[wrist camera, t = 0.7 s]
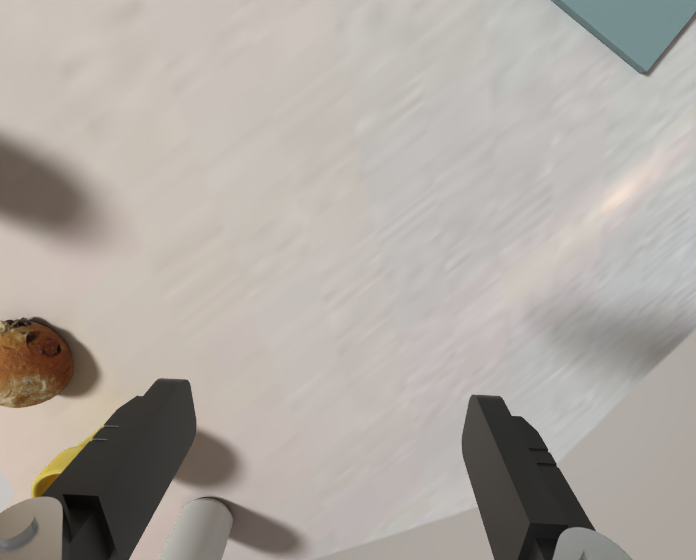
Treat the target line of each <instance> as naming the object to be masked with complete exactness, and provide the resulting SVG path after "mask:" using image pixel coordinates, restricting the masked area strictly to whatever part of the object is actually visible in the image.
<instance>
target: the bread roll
mask: <svg viewBox="0 0 696 560" xmlns="http://www.w3.org/2000/svg"><path fill="white" fill-rule="evenodd" d="M72 364H73V361H72V353H71V351H70V349H69V347H68V346H67V344H66V343H65V341H64V340H63V338H62V337H61V336H60V335H59V334H57V333H56V332H55V331H54V330H52V329H51V328H49V327H46V326H44V325H41V324H38V323H36V322H34V321H28V320H27V318H22V319H20V320H15V321H13V320H7V321H0V405H1V406H6V407H12V408H21V407H28V406H32V405H37V404H40V403H43V402H45V401H47V400H49V399H51V398H53V397H54V396H56V395H57V394H58V393H60V392H61V390H63V388H64V387H65V386H66V385H67V384H68V382H69V381H70V379H71V377H72V374H73V366H72Z"/></svg>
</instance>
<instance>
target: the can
mask: <svg viewBox="0 0 696 560" xmlns="http://www.w3.org/2000/svg"><path fill="white" fill-rule="evenodd" d="M232 525H233V518H232V515H231V513H230V512H229V510H228V508H227V507H226V506H225V505H224V504H223V503H221V502H220V501H218V500H215V499H211V498H200V499H197V500H194V501H192V502H189V503H187V504H186V505H185V506H183V508H182V510H181V512H180V514H179V516H178V518H177V521H176V523H175V525H174V527H173V529H172V531H171V533H170V535H169V538H168V540H167V542H166V544H165V546H164V548H163V550H162V552H161V555H160V557H159V559H158V560H221V559H222V556H223V553H224V550H225V547H226V544H227V541H228V537H229V534H230V531H231V528H232Z"/></svg>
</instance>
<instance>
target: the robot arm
mask: <svg viewBox="0 0 696 560" xmlns="http://www.w3.org/2000/svg"><path fill="white" fill-rule="evenodd" d="M195 432H196V416H195V410H194V404H193V398H192V392H191V386H190V383H189V381H188V380H183V379H163V378H161V379H158V380H156V381H155V383H154V384H153V385H152V386H151V387H150V389H149V390H148V391H147V392H146V393H145V395H144V396H136V397H135V398H133V399H132V400H130V401H129V402H127V403H126V404H124V405H123V406H121V407H120V408H118V409H117V410H116V412H115V413H114V414H113V415H112V416H111V417H110V418H109V419H108V421H107V422H106V423H105V424H104V427H103V428H101V429H100V430H99V431H98V432H97V433H96V434H95V435H94V436H93V438H92V441H89V442H88V443H87V444H86V446H85V447H84V448H83V449H82V450H81V451H80V452H79V453H78V455H77V456H76V457H75V458H74V459H73V460H72V461H71V463H70V464H69V465H68V466H67V467H66V468H65V469H64V470H63V472H62V473H61V474H60V475H59V476H58V477H57V478H56V480H55V481H54V482H53V483H52V484H51V485H50V486H49V487H48V489H47V490H46V491H45V492H44V493H43V494H42V495H41V496H40V497H35V498H31V499H28V500H25V501H22V502H20V503H17V504H15V505H13V506H11V507H10V508H8V509H6V510H4V511H3V512H1V513H0V560H129V558H130V556H131V554H132V553H133V551H134V549H135V547H136V545H137V543H138V542H139V540H140V538H141V536H142V534H143V532H144V531H145V529H146V527H147V525H148V523H149V522H150V520H151V518H152V516H153V514H154V512H155V511H156V509H157V507H158V505H159V503H160V501H161V500H162V498H163V496H164V494H165V492H166V490H167V489H168V487H169V485H170V483H171V481H172V479H173V478H174V476H175V474H176V472H177V470H178V468H179V467H180V465H181V463H182V461H183V459H184V457H185V456H186V454H187V452H188V450H189V448H190V447H191V445H192V442H193V440H194V437H195ZM462 453H463V458H464V462H465V465H466V468H467V472H468V475H469V478H470V481H471V485H472V488H473V491H474V494H475V498H476V501H477V504H478V507H479V510H480V514H481V517H482V520H483V524H484V527H485V530H486V533H487V537H488V540H489V543H490V546H491V550H492V553H493V556H494V559H495V560H632V558H631V557H630V556H629V555H628V554H627V553H626V552H625V551H624V550H623V549H622V548H621V547H620V546H619V545H617V544H616V543H615V542H613V541H612V540H610V539H609V538H607V537H606V536H604V535H602V534H600V533H598V532H596V530H595V529H594V527H593V526H592V524H591V522H590V521H589V519H588V517H587V516H586V514H585V512H584V510H583V509H582V507H581V505H580V503H579V502H578V500H577V498H576V496H575V495H574V493H573V491H572V490H571V488H570V486H569V484H568V483H567V481H566V479H565V478H564V476H563V474H562V472H561V471H560V469H559V468H557V466H556V462H555V460H554V459H553V457H552V455H551V454H550V453H548V448H547V447H546V445H545V443H544V442H543V440H542V438H541V436H540V435H539V433H538V431H536V430H535V429H534V428H533V427H532V426H531V425H530V424H529V423H528V422H527V421H526V420H525V419H524V418H522V417H520V416H511V414H510V412H509V410H508V408H507V406H506V404H505V402H504V400H503V399H502V398H501V397H500V396H489V395H472V396H471V397H470V400H469V404H468V409H467V414H466V419H465V424H464V429H463V434H462Z"/></svg>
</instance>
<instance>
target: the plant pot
mask: <svg viewBox="0 0 696 560" xmlns="http://www.w3.org/2000/svg"><path fill="white" fill-rule="evenodd" d="M103 427H104V425H103V426H102V427H101V428H103ZM101 428H99V429H98V430H97V431H95V432H94V433H93V434H92V435H90V436H89V437H88V438H86V439H85V440H84V441H83V442H81V443H80V444H79V445H77V446H75V447H72V448H69V449H67V450H65V451H63V452H61V453H60V454H59V455H58V456H57V457H56V458H55V459H54V460H53V461H52V462H51V463H50V464H49V465H48V466H47V467H46V468H45V469H44V470H43V471H42V472H41V473H40V474H39V475H38V477H37V478H36V479H35V480H34V482H33V484H32V487H31V497H32V498H35V497H40V496H41V495H42V494H43V493H44V492H45V491H46V490H47V489H48V487H49V486H50V485H51V484H52V483H53V482H54V481H55V480H56V478H57V477H58V476H59V475H60V474H61V473H62V472H63V470H64V469H65V468H66V467H67V466H68V465H69V464H70V463H71V461H72V460H73V459H74V458H75V457H76V456H77V455H78V453H79V452H80V451H81V450H82V449H83V448H84V447H85V446H86V444H87V443H88V442H89V441H92V438H93V436H94V435H95V434H96V433H97V432H98V431H99V430H100V429H101Z"/></svg>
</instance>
